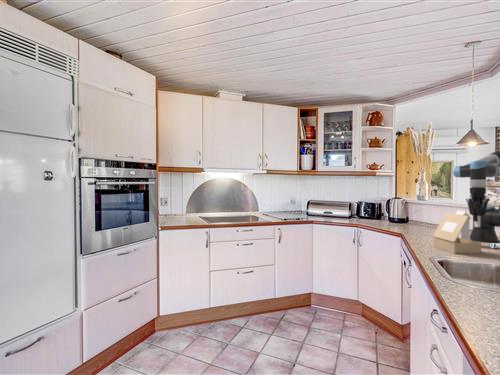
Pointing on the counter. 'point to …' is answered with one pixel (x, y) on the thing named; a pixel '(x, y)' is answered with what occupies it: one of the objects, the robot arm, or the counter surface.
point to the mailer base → (458, 246)
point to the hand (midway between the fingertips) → (477, 226)
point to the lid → (450, 227)
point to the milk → (465, 229)
